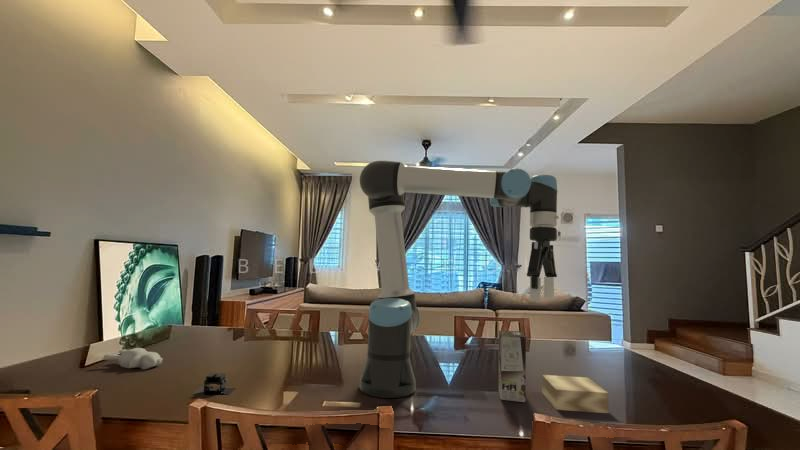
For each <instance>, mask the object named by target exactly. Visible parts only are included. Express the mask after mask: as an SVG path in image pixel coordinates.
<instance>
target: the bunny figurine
mask: <svg viewBox="0 0 800 450" xmlns="http://www.w3.org/2000/svg"><path fill="white" fill-rule="evenodd" d="M118 352H119V354H110V353H106V354H105V353H104V355H103V357H102V360H106V361H111V360H112V361H113V360H114V361H115V360H116V361H118V362H119V365H120V367H121V368H125V369H133V368H139V369H141V370H147V369H150V368H153V367H156V366H158V365H159V366H160V365H161V364H163V359H164V358H163V357H161V355H160V354H159V352H156V351H147V350H146V348H142V347H134V348H131V349H120V350H119V351H118Z"/></svg>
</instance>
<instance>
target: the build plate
mask: <svg viewBox="0 0 800 450" xmlns="http://www.w3.org/2000/svg"><path fill="white" fill-rule="evenodd" d="M226 383H227V376H226V373H225V372H223V373H222V372H217V373H216V372H211V373H209V374H208V375H207V376H205V380H204V383H203V386H202V387H199V388H197V389H196V390H195V391H194V392H192V393H191V394H190V396H230V395H232V393H233V392H234V391H235V390H237V387H226ZM213 385H216V386H213ZM218 385H219V386H218Z"/></svg>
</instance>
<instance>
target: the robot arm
mask: <svg viewBox="0 0 800 450" xmlns="http://www.w3.org/2000/svg"><path fill="white" fill-rule="evenodd" d="M359 185H360V189H361V190H362V192H363V193H364V195H366V196H367V199H368V200H367V201H368V208H369V209H368V211H369V212H370V214H372V215H373V216H374V222H375V232H376V242H377V253H378V262H379V272H380V273H379V274H380V284H381V291H380V293H379V294H378V295H377V299H375V300H374V301H372V302H371V303H370V305H369V311H368V314H367V316H368V331H367V332H368V333H367V355H366V357H367V358H366V361H365V364H364V366H363V370H362V373H361V376H360V378H359V390H360V391H361V392H362V393H363V394H365V395H367V396H371V397H375V398H382V399H383V398H384V399H397V398H403V397H407V396H410V395H412V394H413V393H415V392H416V383H417V381H416V377H415V374H414V370H413V366H412V362H411V337H412V336H411V335H412V334H413V333H414V332H415V331H416V330H417V328H418V326H419V324H420V323H419V322H420V313H419V309H418V307H417V304H416V303H417V302H416V294H415V291H414V290H412V289H411V288H410V286H409V284H410V283H409V274H408V265H407V258H406V247H405V239H404V238H405V237H404V229H403V219H402V212H403V211H404V210H405V208H406V206H405V204H406V203H405V194H406V193H413V194H426V195H427V194H428V195H438V196H439V195H440V196H442V195H443V196H453V197H454V196H456V197H473V198H483V199H484V198H486V199H487V198H488V199H489V205H490V206H491V207H495V208H496V207H498V208H529V226H530V229H529V240H530V241H532V242H531V250H530V256H529V261H528V268H527V273H526V277H528V278H530V279H529V280H530V282H529V301H530V302H531V301H533V302H541V301H542V297H541V296H542V277H540V276H541V272H542V268H543V271H544V277H543V298H544V299H550V300H551V299H552V300H554V299H555V298H554V297H555V296H554V294H555V278H557V277H558V274H557V271H556V264H555V253H554V244H551V242H556V241H557V238H558V236H557V235H558V233H557V232H558V231H557V230H558V229H557V228H556V227H557V225H558V223H557V222H558V221H557V220H558V219H560V217H559V215H558V214H557V210H558V209H557V208H558V184H557V178H556V177H555V176H554V175H551V174H538V175H536V174H535V175H533V176H532V177H530V174H529V173H528V172H527V171H526V170H524V169H522V168H512V169H509V170H507V171H503V170H501V171H499V170H498V171H497V170H481V169H468V168H467V169H466V168H449V167H433V166H431V167H430V166H418V165H417V166H416V165H415V166H414V165H413V166H412V165H406V164H405V162H403V161H391V160H375V161H372V162H370V163H368V164H367V165H365V166H364V167H363V169H362V170H361V172H360V176H359Z"/></svg>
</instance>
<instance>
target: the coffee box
mask: <svg viewBox="0 0 800 450" xmlns="http://www.w3.org/2000/svg"><path fill="white" fill-rule="evenodd" d="M526 339H527V337H526V336H525V334H524V333H523V332H522V331H519V330H517V331H516V330H498V392H499V397H500V400H502V401H511V402H517V403H518V402H520V403H526V385H527V383H526V382H527V381H526V378H527V377H526V367H527V366H526V362H527V361H526V360H527V353H526V352H527V349H526V347H527V345H526V342H527V340H526Z"/></svg>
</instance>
